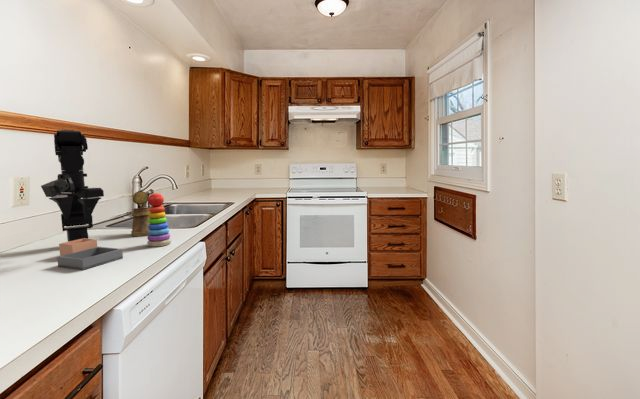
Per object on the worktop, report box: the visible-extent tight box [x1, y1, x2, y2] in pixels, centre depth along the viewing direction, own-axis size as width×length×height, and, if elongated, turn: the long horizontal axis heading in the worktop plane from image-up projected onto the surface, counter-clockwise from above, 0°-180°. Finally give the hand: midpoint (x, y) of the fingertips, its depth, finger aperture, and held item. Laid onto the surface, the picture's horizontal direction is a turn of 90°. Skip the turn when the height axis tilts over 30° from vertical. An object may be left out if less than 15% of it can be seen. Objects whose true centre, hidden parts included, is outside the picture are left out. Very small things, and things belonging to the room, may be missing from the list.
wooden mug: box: [130, 190, 151, 237], centre depth 144 cm, size 9×14×18 cm, turn 27°
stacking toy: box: [146, 192, 172, 248], centre depth 123 cm, size 8×8×19 cm
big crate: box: [56, 246, 124, 271], centre depth 102 cm, size 10×12×3 cm
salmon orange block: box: [58, 238, 98, 256], centre depth 111 cm, size 6×8×4 cm
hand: (77, 219), depth 110 cm, fingers open, 9 cm apart
